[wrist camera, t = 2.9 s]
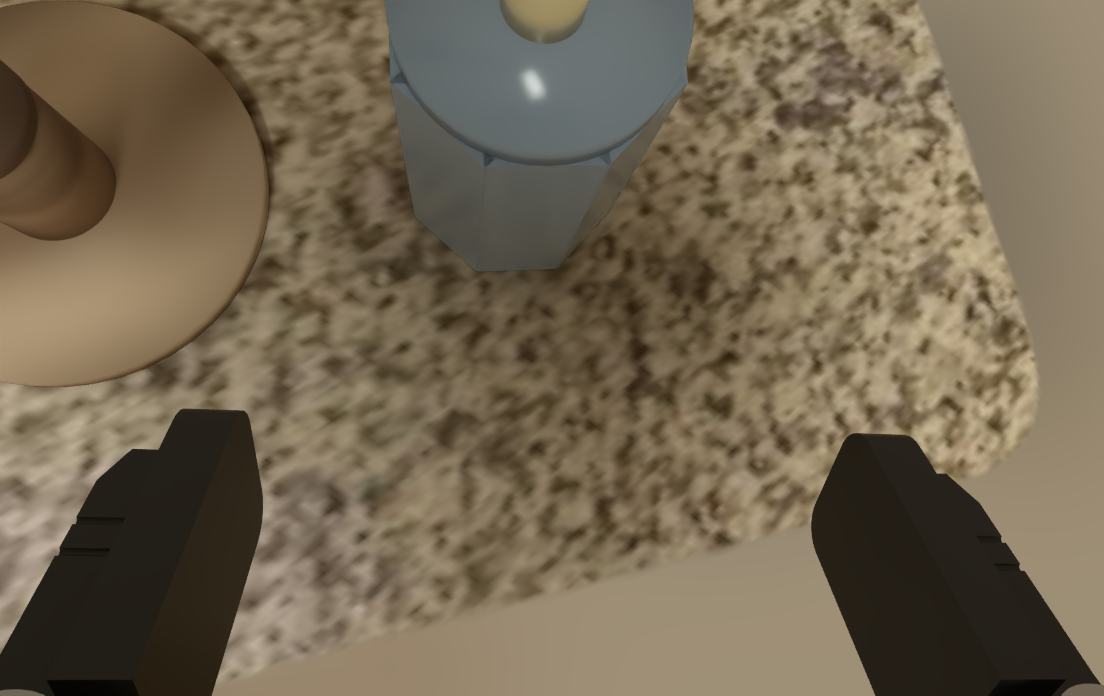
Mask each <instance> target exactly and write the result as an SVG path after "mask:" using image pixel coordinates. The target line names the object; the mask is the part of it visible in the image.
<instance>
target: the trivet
mask: <svg viewBox="0 0 1104 696" xmlns="http://www.w3.org/2000/svg"><path fill="white" fill-rule="evenodd" d="M0 60H1V61H3V62H4V63H5V64H6V65H7V66H8V67H9V68H11V69H12V70H13V71H14V72H15V73H16V74H17V75H18V76H19V77H20V78H21V79H22V80H23V81H24V82H25V84H26V85H27V86H28V87H30V88H31V89H32V90H33V91H34V92H35V93H37V94H38V95H39V96H40V97H41V98H42V99H44V100H45V101H46V102H47V103H48V104H49V105H51V106H52V107H53V108H54V109H55V110H56V111H58V112H59V113H60V114H61V115H62V116H63V117H64V118H66V119H67V120H68V121H69V122H70V123H71V124H73V125H74V126H75V127H76V128H77V129H78V130H80V131H81V132H82V133H83V134H84V135H85V136H87V137H88V138H89V139H90V140H91V141H92V142H94V143H95V144H96V145H97V146H98V147H99V148H100V149H101V150H102V151H103V152H104V153H105V154H106V156H107V157H108V158H109V160H110V162H111V164H112V166H113V169H114V172H115V177H116V191H115V196H114V200H113V202H112V205H111V207H110V209H109V211H108V212H107V214H106V215H105V216H104V218H103V219H102V220H101V221H100V222H99V223H98V224H97V225H96V226H94V227H93V228H92V229H90V230H89V231H87V232H86V233H84V234H81V235H79V236H77V237H74V238H71V239H66V240H59V241H46V240H40V239H36V238H32V237H29V236H27V235H25V234H23V233H21V232H19V231H17V230H15V229H13V228H11V227H9V226H7V225H5V224H3V223H1V222H0V381H1V382H7V383H13V384H21V385H28V386H35V387H70V386H80V385H89V384H95V383H99V382H104V381H108V380H112V379H117V378H121V377H123V376H126V375H129V374H132V373H134V372H137V371H140V370H143V369H145V368H147V367H149V366H151V365H153V364H155V363H157V362H159V361H161V360H163V359H165V358H167V357H169V356H171V355H172V354H174V353H175V352H177V351H178V350H180V349H181V348H183V347H184V346H186V345H187V344H189V343H190V342H192V341H193V340H194V339H195V338H197V337H198V336H199V335H200V334H201V333H202V332H203V331H205V330H206V329H207V328H208V327H209V326H210V325H212V324H213V323H214V321H215V320H216V319H217V318H218V317H219V316H220V315H221V314H222V313H223V311H224V310H225V309H226V308H227V307H228V306H229V305H230V303H231V302H232V300H233V299H234V298H235V296H236V295H237V293H238V292H239V290H240V289H241V287H242V286H243V284H244V283H245V281H246V279H247V277H248V275H249V273H250V271H251V269H252V267H253V265H254V263H255V261H256V258H257V255H258V252H259V249H260V247H261V244H262V241H263V238H264V233H265V228H266V223H267V218H268V207H269V180H268V168H267V164H266V159H265V155H264V150H263V146H262V143H261V141H260V138H259V135H258V133H257V130H256V127H255V125H254V123H253V121H252V119H251V117H250V115H249V113H248V112H247V110H246V108H245V106H244V104H243V103H242V101H241V99H240V98H239V96H238V94H237V93H236V91H235V90H234V89H233V87H232V86H231V85H230V83H229V82H228V81H227V79H226V78H225V76H224V75H223V74H222V72H221V71H220V70H219V69H218V68H217V67H216V66H215V65H214V64H213V63H212V62H211V61H210V60H209V59H208V58H207V57H206V56H205V55H204V54H203V53H202V52H200V51H199V50H198V49H197V48H195V47H194V46H193V45H192V44H190V43H189V42H188V41H186V40H185V39H184V38H182V37H181V36H179V35H177V34H176V33H174V32H172V31H171V30H169V29H167V28H166V27H164V26H162V25H160V24H158V23H155V22H153V21H151V20H149V19H147V18H144V17H142V16H140V15H137V14H134V13H131V12H127V11H124V10H121V9H118V8H114V7H109V6H104V5H99V4H93V3H88V2H74V1H41V2H30V3H23V4H17V5H11V6H5V7H2V8H0Z"/></svg>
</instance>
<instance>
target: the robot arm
mask: <svg viewBox="0 0 1104 696" xmlns="http://www.w3.org/2000/svg"><path fill="white" fill-rule="evenodd" d="M262 514H263V494H262V487H261V482H260V476H259V470H258V465H257V459H256V453H255V447H254V442H253V436H252V430H251V425H250V420H249V417H248V415H247V413H246V412H245V411H239V410H209V409H181V410H180V411H179V412H178V413H177V414H176V416H175V417H174V419H173V421H172V423H171V425H170V427H169V429H168V431H167V433H166V436H165V438H164V440H163V442H162V444H161V446H160V448H159V450H148V449H132V450H131V451H130V452H128V453H127V454H126V455H125V456H124V457H123V458H122V459H120V460H119V461H118V462H117V463H116V464H115V465H114V466H112V467H111V468H110V469H109V470H108V471H107V472H106V473H104V474H103V475H102V476H101V477H100V478H99V479H98V480H97V481H96V483H95V484H94V486H93V488H92V490H91V492H90V493H89V495H88V497H87V499H86V501H85V502H84V504H83V506H82V508H81V510H80V512H79V513H78V515H77V522H76V524H72V526H71V528H70V530H69V531H68V533H67V535H66V537H65V539H64V540H63V542H62V544H61V546H60V552H59V555H58V556H55V557H54V558H53V560H52V562H51V564H50V566H49V567H48V569H47V571H46V573H45V575H44V577H43V578H42V580H41V582H40V584H39V586H38V587H37V589H36V591H35V593H34V595H33V596H32V598H31V600H30V602H29V604H28V605H27V607H26V609H25V611H24V613H23V614H22V616H21V618H20V620H19V622H18V623H17V625H16V627H15V629H14V631H13V633H12V634H11V636H10V638H9V640H8V642H7V643H6V645H5V647H4V649H3V651H2V652H1V654H0V696H212V693H213V689H214V686H215V683H216V679H217V676H218V673H219V669H220V666H221V663H222V659H223V656H224V653H225V649H226V646H227V643H228V639H229V636H230V633H231V629H232V626H233V623H234V620H235V616H236V613H237V610H238V606H239V603H240V600H241V596H242V593H243V590H244V586H245V583H246V580H247V576H248V573H249V570H250V566H251V563H252V560H253V556H254V553H255V550H256V546H257V543H258V539H259V535H260V530H261V524H262ZM811 531H812V539H813V544H814V548H815V551H816V554H817V556H818V558H819V561H820V563H821V566H822V568H823V571H824V573H825V575H826V578H827V580H828V582H829V585H830V587H831V590H832V592H833V595H834V597H835V599H836V602H837V604H838V607H839V609H840V611H841V614H842V616H843V619H844V621H845V623H846V626H847V628H848V631H849V633H850V636H851V638H852V640H853V643H854V645H855V648H856V650H857V652H858V655H859V657H860V660H861V662H862V664H863V667H864V669H865V671H866V674H867V676H868V679H869V681H870V684H871V686H872V688H873V691H874V693H875V696H1104V686H1103V685H1101V684H1100V682H1099V681H1098V680H1097V678H1096V677H1095V676H1094V674H1093V673H1092V671H1091V670H1090V668H1089V667H1088V666H1087V664H1086V662H1085V661H1084V659H1083V658H1082V656H1081V655H1080V653H1079V652H1078V651H1077V649H1076V647H1075V646H1074V645H1073V643H1072V642H1071V640H1070V638H1069V637H1068V635H1067V634H1066V632H1065V631H1064V630H1063V628H1062V626H1061V625H1060V623H1059V622H1058V620H1057V619H1056V618H1055V616H1054V614H1053V613H1052V611H1051V610H1050V608H1049V607H1048V605H1047V604H1046V602H1045V601H1044V599H1043V598H1042V596H1041V595H1040V593H1039V592H1038V590H1037V589H1036V587H1035V586H1034V584H1033V583H1032V581H1031V580H1030V578H1029V577H1028V575H1027V574H1026V572H1025V571H1021V570H1020V569H1019V565H1020V563H1019V562H1018V560H1017V559H1016V557H1015V556H1014V554H1013V553H1012V551H1011V550H1010V548H1009V547H1008V545H1007V544H1006V543H1002V542H1001V535H1000V533H999V532H998V530H997V529H996V527H995V526H994V524H993V523H992V521H991V520H990V518H989V517H988V515H987V514H986V512H985V511H984V509H983V508H982V506H981V505H980V503H979V502H978V501H976V500H975V499H974V498H973V497H972V496H971V495H970V494H969V493H967V492H966V491H965V490H964V489H963V488H962V487H961V486H959V485H958V484H957V483H956V482H955V481H954V480H953V479H951V478H950V477H949V476H948V475H947V474H937V473H936V472H935V470H934V469H933V467H932V465H931V464H930V462H929V461H928V459H927V457H926V456H925V454H924V453H923V451H922V450H921V448H920V446H919V445H918V444H917V442H916V441H915V440H914V439H913V438H911V437H910V436H907V435H891V434H862V433H854V434H851V435H849V436H848V437H847V438H846V439H845V441H844V442H843V444H842V446H841V449H840V451H839V453H838V455H837V457H836V460H835V462H834V464H833V466H832V468H831V471H830V473H829V475H828V477H827V479H826V482H825V484H824V486H823V488H822V490H821V493H820V495H819V497H818V499H817V501H816V504H815V506H814V509H813V513H812V522H811Z"/></svg>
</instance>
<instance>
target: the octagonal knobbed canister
mask: <svg viewBox="0 0 1104 696" xmlns="http://www.w3.org/2000/svg"><path fill="white" fill-rule="evenodd" d="M385 6H386V16H387V23H388V29H389V50H390V79H391V81H390V86H391V91H392V96H393V102H394V107H395V112H396V118H397V123H398V129H399V134H400V139H401V145H402V150H403V155H404V161H405V166H406V171H407V177H408V182H409V188H410V193H411V198H412V204H413V209H414V214H415V218H417V219H418V220H419V221H420V222H421V223H422V224H423V225H424V226H426V227H427V228H428V229H429V230H430V231H431V232H432V233H433V234H434V235H436V236H437V237H438V238H439V239H440V240H441V241H442V242H443V243H444V244H446V245H447V246H448V247H449V248H450V249H451V250H452V251H453V252H455V253H456V254H457V255H458V256H459V257H460V258H461V259H462V260H463V261H465V262H466V263H467V264H468V265H469V266H470V267H471V268H472V269H473V270H475V272H482V271H514V270H546V269H557V268H558V267H559V266H560V265H561V264H562V262H563V261H564V260H565V259H566V258H567V257H568V256H569V255H570V254H571V253H572V252H573V251H574V249H575V248H576V247H577V246H578V245H579V244H580V243H581V242H582V241H583V240H584V239H585V238H586V236H587V235H588V234H589V233H590V232H591V231H592V230H593V229H594V228H595V227H596V226H597V225H598V223H599V222H600V221H601V220H602V219H603V218H604V217H605V216H606V215H607V214H608V213H609V211H610V210H611V208H612V207H613V205H614V203H615V202H616V200H617V198H618V197H619V195H620V193H621V192H622V190H623V189H624V187H625V185H626V184H627V182H628V180H629V179H630V177H631V175H632V174H633V172H634V170H635V169H636V167H637V166H638V164H639V162H640V161H641V159H642V157H643V156H644V154H645V152H646V151H647V149H648V148H649V146H650V144H651V143H652V141H653V139H654V138H655V136H656V134H657V133H658V131H659V130H660V128H661V126H662V125H663V123H664V121H665V120H666V118H667V116H668V115H669V113H670V111H671V110H672V108H673V107H674V105H675V103H676V102H677V100H678V98H679V97H680V95H681V93H682V92H683V90H684V89H685V87H686V85H687V84H688V80H687V69H686V61H687V58H688V54H689V50H690V46H691V43H692V35H693V26H694V7H693V0H385Z"/></svg>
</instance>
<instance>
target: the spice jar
mask: <svg viewBox="0 0 1104 696" xmlns="http://www.w3.org/2000/svg"><path fill="white" fill-rule="evenodd" d="M115 191H116V177H115V172H114V169H113V166H112V164H111V162H110V160H109V158H108V157H107V156H106V154H105V153H104V152H103V151H102V150H101V149H100V148H99V147H98V146H97V145H96V144H95V143H94V142H92V141H91V140H90V139H89V138H88V137H87V136H85V135H84V134H83V133H82V132H81V131H80V130H78V129H77V128H76V127H75V126H74V125H73V124H71V123H70V122H69V121H68V120H67V119H66V118H64V117H63V116H62V115H61V114H60V113H59V112H58V111H56V110H55V109H54V108H53V107H52V106H51V105H49V104H48V103H47V102H46V101H45V100H44V99H42V98H41V97H40V96H39V95H38V94H37V93H35V92H34V91H33V90H32V89H31V88H30V87H28V86H27V85H26V84H25V82H24V81H23V80H22V79H21V78H20V77H19V76H18V75H17V74H16V73H15V72H14V71H13V70H12V69H11V68H9V67H8V66H7V65H6V64H5V63H4V62H3V61H1V60H0V222H1V223H3V224H5V225H7V226H9V227H11V228H13V229H15V230H17V231H19V232H21V233H23V234H25V235H27V236H29V237H32V238H36V239H40V240H46V241H59V240H66V239H71V238H74V237H77V236H79V235H81V234H84V233H86V232H87V231H89V230H90V229H92V228H93V227H94V226H96V225H97V224H98V223H99V222H100V221H101V220H102V219H103V218H104V216H105V215H106V214H107V212H108V211H109V209H110V207H111V205H112V202H113V200H114V196H115Z"/></svg>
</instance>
